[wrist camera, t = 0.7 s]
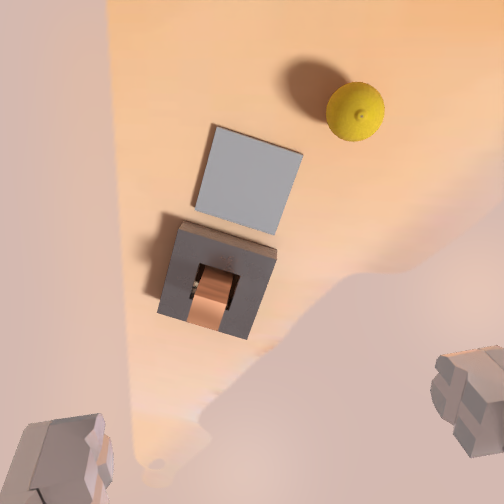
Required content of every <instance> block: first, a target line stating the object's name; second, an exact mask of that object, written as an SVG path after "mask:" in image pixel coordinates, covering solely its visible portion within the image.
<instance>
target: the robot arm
mask: <svg viewBox="0 0 504 504" xmlns="http://www.w3.org/2000/svg"><path fill="white" fill-rule="evenodd" d="M435 368H436V369H437V371H438V372H439V373H438V374H437V376H436V377H435V378H434V379H433V380H432V383H431V390H430V391H431V396H432V401H433V403H434V406H435V408H436V410H437V412H438V413H439V414H440V416H441V418H442V419H444V420H446V421H447V422H449V423H451V424H452V425H453V426H454V427H453V435H454V436H455V437H456V439H457V440H458V442H459V443H460V444H461V446H462V447H463V448H464V450H465V451H466V453H467V454H468V456H469V457H470V458H474V457H480V456H486V455H491V454H497V453H503V452H504V348H502V347H500V346H498V345H496V346H490V347H484V348H478V349H472V350H466V351H461V352H456V353H450V354H444V355H440V356H439V357H438V359H437V360H436V365H435ZM104 430H105V421H104V419H103V416H102V414H100V413H97V414H91V415H84V416H77V417H71V418H63V419H56V420H51V421H45V422H38V423H31V424H29V425H28V426H27V427H26V428H25V430H24V431H23V434H22V436H21V439H20V442H19V444H18V447H17V450H16V453H15V455H14V458H13V460H12V463H11V466H10V469H9V471H8V474H7V477H6V479H5V482H4V485H3V487H2V490H1V493H0V504H109V498H108V496H107V492H106V489H107V487H108V486H109V485H110V483H111V482H112V478H113V470H114V469H113V468H114V459H113V458H114V457H113V448H112V443H111V440H110V437H108V436H107V435H105V434H104Z"/></svg>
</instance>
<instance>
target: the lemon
mask: <svg viewBox="0 0 504 504" xmlns="http://www.w3.org/2000/svg"><path fill="white" fill-rule="evenodd" d="M384 110H385V107H384V102H383V99H382V97H381V95H380V93H379V92H378V91H377V90H376V89H375V88H374V87H372V86H371V85H369V84H366V83H362V82H352V83H348V84H345V85H343V86H342V87H340V88H338V89H337V90H336V91H335V92H334V93H333V95H332V96H331V98H330V99H329V101H328V104H327V108H326V119H327V123H328V126H329V128H330V129H331V131H332V132H333V133H334V134H335V135H336V136H338V137H339V138H341V139H343V140H346V141H352V142H355V141H361V140H364V139H366V138H368V137H370V136H371V135H373V134H374V133H375V132H376V131H377V130H378V129H379V127H380V125H381V123H382V121H383V118H384Z"/></svg>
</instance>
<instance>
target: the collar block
mask: <svg viewBox="0 0 504 504" xmlns="http://www.w3.org/2000/svg"><path fill="white" fill-rule="evenodd" d="M276 260H277V250H276V249H273V248H270V247H267V246H263V245H260V244H257V243H254V242H251V241H248V240H244V239H241V238H238V237H235V236H232V235H229V234H225V233H222V232H219V231H216V230H213V229H210V228H206V227H203V226H200V225H197V224H194V223H191V222H187V221H183V223H182V224H181V226H180V227H179V229H178V232H177V236H176V240H175V244H174V248H173V252H172V256H171V260H170V264H169V268H168V272H167V275H166V279H165V283H164V287H163V291H162V295H161V299H160V303H159V307H158V311H157V313H159V314H163V315H166V316H169V317H173V318H176V319H179V320H182V321H186V322H187V318H188V315H189V311H190V308H191V305H192V301H193V298H194V295H195V292H196V289H197V288H195V287H194V284H195V281H196V278H197V274H198V271H199V267H200V264H201V263H202V264H205V265H208V266H211V267H215V268H218V269H221V270H224V271H227V272H231V273H234V274H237V275H239V278H238V281H237V284H236V287H235V290H234V293H233V296H232V299H231V298H228V300H227V305H226V308H225V311H224V314H223V317H222V320H221V323H220V326H219V329H218V331H219V332H222V333H226V334H229V335H232V336H236V337H239V338H242V339H246V340H247V338H248V335H249V333H250V330H251V327H252V325H253V322H254V319H255V317H256V314H257V311H258V309H259V306H260V303H261V301H262V298H263V295H264V292H265V290H266V287H267V284H268V282H269V279H270V276H271V274H272V271H273V268H274V266H275V263H276ZM192 324H193V323H192ZM202 327H203V326H202ZM212 330H213V329H212Z"/></svg>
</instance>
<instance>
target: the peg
mask: <svg viewBox="0 0 504 504" xmlns="http://www.w3.org/2000/svg"><path fill="white" fill-rule="evenodd" d="M233 276H234V273H231V272H227V271H224V270H221V269H218V268H215V267H211V266H208V265H206V267H205V269H204V272H203V274H202V277H201V279H200V282H199V284H198V287H197V289H196V292H195V295H194V298H193V301H192V305H191V308H190V311H189V315H188V318H187V322H189V323H193V324H196V325H199V326H203V327H206V328H209V329H213V330H216V331H218V329H219V326H220V323H221V320H222V317H223V314H224V311H225V308H226V305H227V300H228V296H229V292H230V288H231V284H232V280H233Z"/></svg>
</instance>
